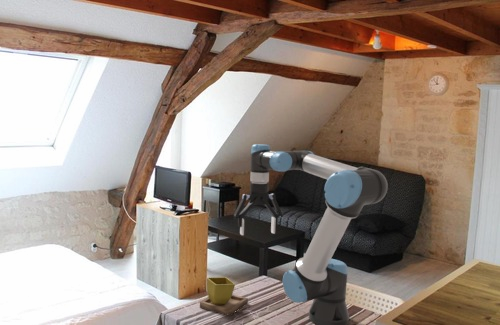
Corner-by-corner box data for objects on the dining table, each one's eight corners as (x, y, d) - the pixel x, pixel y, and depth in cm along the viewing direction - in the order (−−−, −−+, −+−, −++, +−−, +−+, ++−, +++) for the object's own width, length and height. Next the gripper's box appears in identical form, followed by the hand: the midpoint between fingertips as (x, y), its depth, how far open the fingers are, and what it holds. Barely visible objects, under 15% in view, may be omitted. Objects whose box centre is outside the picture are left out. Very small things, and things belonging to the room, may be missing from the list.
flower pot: (212, 307, 180) (215, 284, 180) (203, 298, 188) (206, 277, 188) (232, 306, 185) (235, 284, 184) (222, 298, 192) (225, 276, 192)
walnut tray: (247, 303, 190) (247, 298, 190) (230, 315, 178) (230, 310, 178) (218, 296, 197) (218, 291, 197) (199, 307, 184) (199, 302, 184)
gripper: (284, 180, 197) (282, 230, 199) (227, 181, 189) (225, 232, 191) (291, 183, 190) (289, 234, 192) (232, 184, 182) (231, 237, 184)
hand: (257, 233), depth 191 cm, fingers open, 13 cm apart
